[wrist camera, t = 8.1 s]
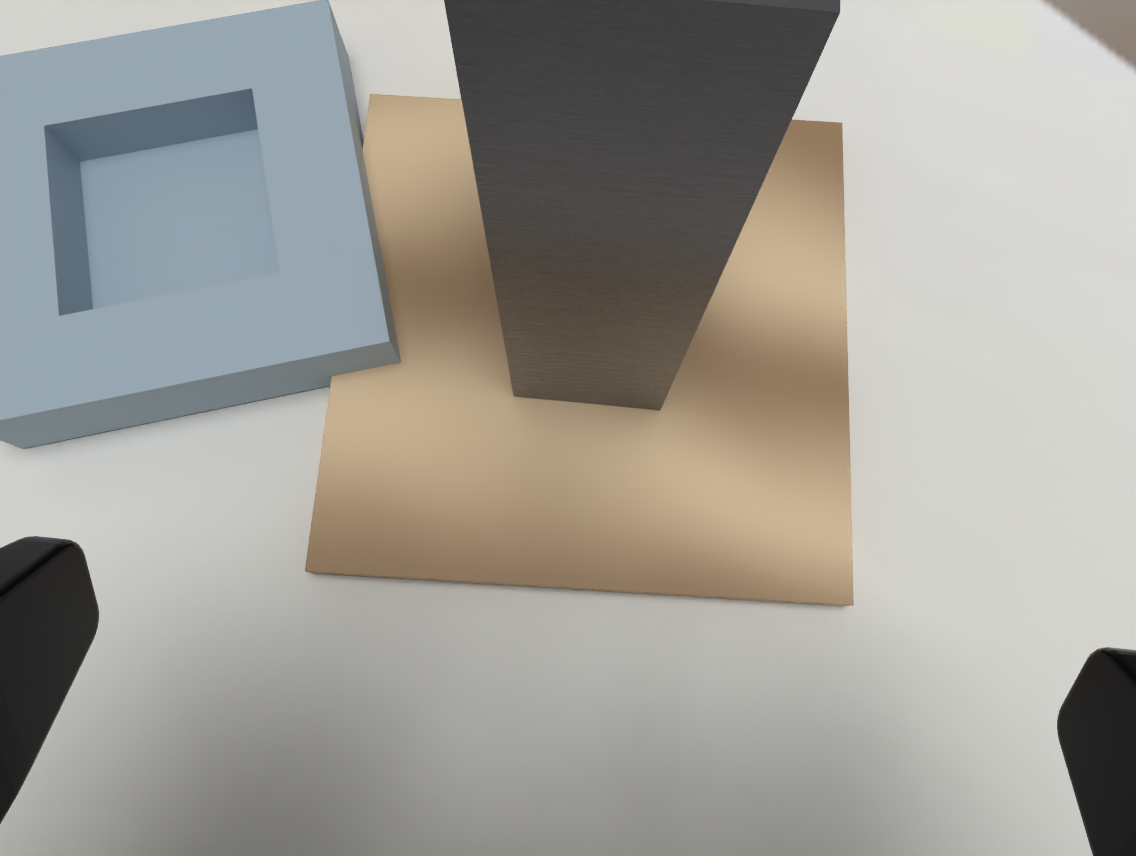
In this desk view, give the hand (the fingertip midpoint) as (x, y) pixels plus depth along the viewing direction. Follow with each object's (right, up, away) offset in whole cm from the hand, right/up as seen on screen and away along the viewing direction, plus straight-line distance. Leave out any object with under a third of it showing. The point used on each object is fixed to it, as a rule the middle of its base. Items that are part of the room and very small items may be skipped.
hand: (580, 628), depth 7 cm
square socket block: (-9, +7, +13) cm, 18 cm away
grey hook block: (+1, +5, +13) cm, 14 cm away
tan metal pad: (0, +4, +13) cm, 13 cm away
